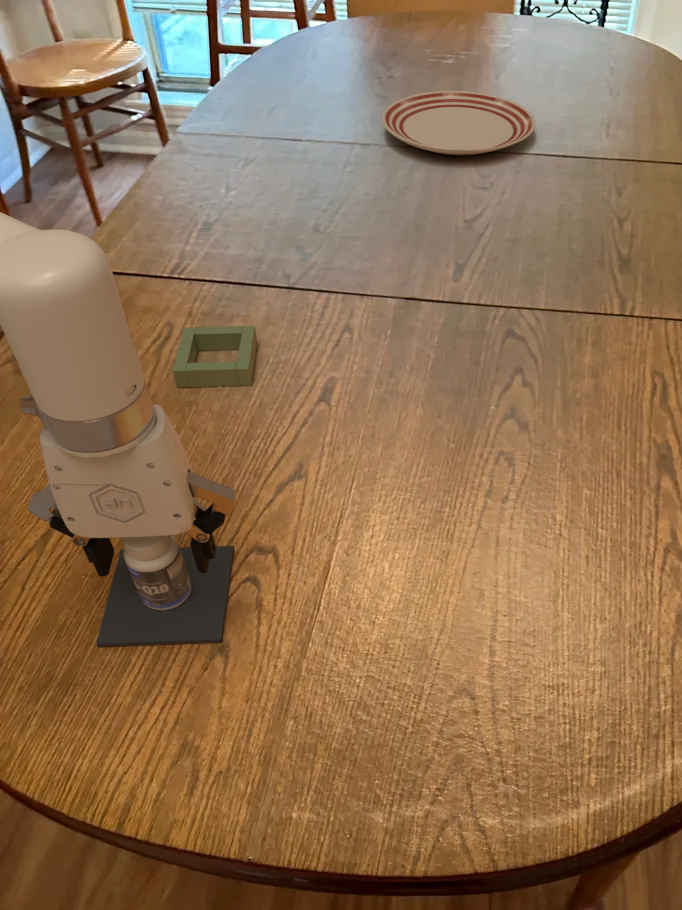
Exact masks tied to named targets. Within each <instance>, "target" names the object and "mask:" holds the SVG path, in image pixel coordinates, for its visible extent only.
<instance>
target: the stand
mask: <svg viewBox="0 0 682 910" xmlns="http://www.w3.org/2000/svg"><path fill="white" fill-rule="evenodd" d="M257 348H258V337H257V332H256V326H255V325H234V326H233V325H231V326H228V325H227V326H197V327H196V326H195V327H194V326H193V327H183V329H182V333H181V337H180V340H179V345H178V348H177V352H176V356H175V360H174V364H173V368H172V374H173V377H174V380H175V384H176V387H177V388H209V387H210V388H212V387H213V388H214V387H241V386H242V387H243V386H252V384H253V375H254V369H255V363H256V356H257ZM236 350H237V351H238V353H237V354H238V355H237V358H236V359H237V360H236V361H210V362H209V361H208V362H207V361H205V362H204V361H203V362H196V361H197V356H198V351H199V352H200V351H202V352H204V351H205V352H207V351H236Z"/></svg>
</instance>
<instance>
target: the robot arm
mask: <svg viewBox="0 0 682 910" xmlns="http://www.w3.org/2000/svg"><path fill="white" fill-rule="evenodd" d="M114 276H115V275H114V273H113V270H112V268H111V264H110V262H109V259H108V257H107V255H106V253H105V252H104V250H103V249H102V248H101V246H100V245H99V244H98V243H97V242H96V241H95V240H93V239H91V238H90V237H89V236H87V235H85V234H82V233H79V232H76V231H73V230H69V229H61V228H56V229H55V228H52V229H41V228H39V227H36V226H32V225H31V224H28V223H26V222H23V221H21V220H19V219H17V218H15V217H12V216H10V215H8V214H7V213H3V212H1V211H0V332H2V331H3V334H4V336H5V338H6V340H7V342H8V344H9V347H10V349H11V351H12V353H13V356H14V358H15V360H16V363H17V364H18V366H19V369H20V372H21V373H22V376H23V378H24V380H25V383H26V385H27V387H28V389H29V391H30V393H31V395H22V396H20V399H19V408H20V411H21V413H22V414H23V415H32V416H34V417H38V418H39V419H40V421H41V423H42V425H43V427H42V428H41V430H40V433H39V444H40V450H41V455H42V460H43V464H44V468H45V473H46V476H47V480H48V483H49V484H47V485H46V486H45V487H43V488H42V489H40V490H39V491H37V492H36V493H34V494H32V495H31V497H30V499H29V502H28V504H27V511H28V512H30V513H31V514H32V515H34V516H36V517H37V518H39V519H41V520H42V521H43V522H47V523H48V525H49V527H50V528H51V529H52V530H55V531H57V532H58V533H61V534H63V535H66V536H67V537H70V539H71V538H72V540H71V542H72V544H73V545H75V546H76V547H81V548H82V550H83V551H84V554H85V556H86V558H87V560H88V562H89V563H90V564H93V566H94V569H95V571H96V573H97V575H98V577H107V575H109V574H110V570H111V567H112V562H113V559H114V555H115V548H114V545H113V543H112V541H111V538H112V539H113V538H115V539H116V538H121V537H148V536H168V535H173V536H175V535H181V534H184V533H185V534H186V535H188V536H189V537H190V543H189V545H190V546H189V547H191V550H192V553H193V556H194V559H195V562H196V566H197V569H198V571H199V572H201V573H207V571H208V565H209V559H215V554H216V546H217V545H216V542H215V538H214V534H213V533H214V532H216V530H218V529H219V528H220V527H221V526H222V525H224V523H225V520H226V518H227V517H228V516H229V515H230V513H231V512H232V511H233V509H234V508H235V507H236V505H237V498H238V491H237V490H236V489H234V488H231V487H229V486H227V485H224V484H221V483H219V482H217V481H214V480H212V479H209V478H206V477H204V476H201V475H198V474H196V473H195V472H194V470H193V467H192V464H191V461H190V460H189V457H188V454H187V452H186V449H185V447H184V445H183V442H182V440H181V438H180V436H179V435H178V432H177V430H176V429H175V426H174V425H173V423H172V421H171V419H170V418H169V417H168V415H167V413H166V411H165V410H164V409H163V408H162V406H161V405H160V404H154V403H153V400H152V397H151V393H150V390H149V386H148V383H147V380H146V376H145V374H144V371H143V367H142V364H141V360H140V356H139V353H138V351H137V347H136V343H135V341H134V337H133V335H132V330H131V328H130V325H129V322H128V318H127V315H126V312H125V309H124V305H123V302H122V299H121V296H120V291H119V288H118V285H117V282H116V280H115V277H114ZM196 498H197V499H201V500H203V501H206V502H209V503H211V505H209V506H208V507H205V506H204V505H203V504H202V503H201V502H199V501H198V500H196Z"/></svg>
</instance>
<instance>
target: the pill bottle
mask: <svg viewBox="0 0 682 910" xmlns="http://www.w3.org/2000/svg"><path fill="white" fill-rule="evenodd" d="M120 540H121V544H122V546H123V549H124V559H125V562H126V564H127V567H128V569H129V572H130V574H131V576H132V579H133V581H134V584H135V586H136V588H137V591H138V593H139V596H140V598H141V600H142V602H143V603H144V604H145V605H146V606H147V607H149V608H151V609H155V610H162V611H165V610H169V609H173V608H175V607H177V606H179V605H181V604H182V603H183V602H184V601H185V600H186V599H187V598H188V596H189V594H190V592H191V581H190V578H189V575H188V572H187V569H186V566H185V563H184V560H183V557H182V554H181V550H180V548H181V547H180V544H179V542H178V539H177V538H176V536H175V535H168V536H148V537H120Z"/></svg>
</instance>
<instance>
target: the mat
mask: <svg viewBox="0 0 682 910" xmlns="http://www.w3.org/2000/svg"><path fill="white" fill-rule="evenodd" d="M180 550H181V554H182V557H183V560H184V563H185V566H186V569H187V572H188V575H189V578H190V581H191V592H190V594H189V596H188V598H187V599H186V600H185V601H184V602H183V603H182V604H181V605H179V606H177V607H175V608H173V609H169V610H165V611H162V610H155V609H151V608H149V607H147V606H146V605H145V604H144V603H143V602H142V600H141V598H140V596H139V593H138V591H137V588H136V586H135V584H134V581H133V579H132V576H131V574H130V572H129V569H128V567H127V564H126V562H125V559H124V548H122V549H120V550H119V554H118V559H117V562H116V565H115V570H114V574H113V578H112V581H111V585H110V588H109V593H108V596H107V601H106V604H105V607H104V612H103V616H102V620H101V623H100V627H99V632H98V635H97V639H96V641H95V644H96V646H97V648H113V647H115V648H116V647H117V648H118V647H139V646H140V647H141V646H142V647H143V646H145V647H146V646H169V645H172V646H173V645H195V644H221V643H223V637H224V631H225V623H226V616H227V615H226V614H227V607H228V601H229V594H230V586H231V578H232V572H233V563H234V557H235V556H234V555H235V546H234V545H216V554H215V559H209V565H208V571H207V573H201V572H199V571H198V569H197V566H196V562H195V559H194V556H193V553H192V550H191V546H186V547H185V546H184V547H182V546H181V547H180Z"/></svg>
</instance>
